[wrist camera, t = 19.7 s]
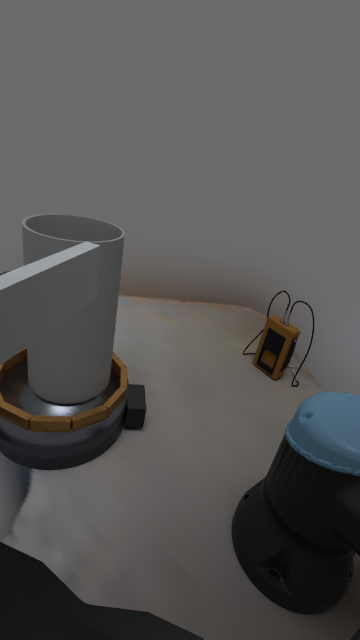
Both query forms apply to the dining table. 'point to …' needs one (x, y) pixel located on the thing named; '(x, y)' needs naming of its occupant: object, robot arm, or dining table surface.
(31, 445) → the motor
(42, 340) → the cylinder vase
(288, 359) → the multimeter
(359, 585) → the dining table surface
